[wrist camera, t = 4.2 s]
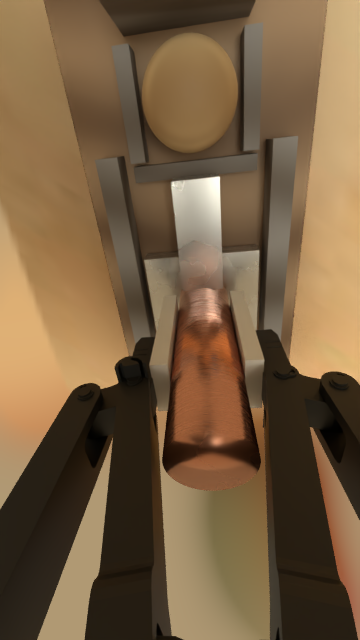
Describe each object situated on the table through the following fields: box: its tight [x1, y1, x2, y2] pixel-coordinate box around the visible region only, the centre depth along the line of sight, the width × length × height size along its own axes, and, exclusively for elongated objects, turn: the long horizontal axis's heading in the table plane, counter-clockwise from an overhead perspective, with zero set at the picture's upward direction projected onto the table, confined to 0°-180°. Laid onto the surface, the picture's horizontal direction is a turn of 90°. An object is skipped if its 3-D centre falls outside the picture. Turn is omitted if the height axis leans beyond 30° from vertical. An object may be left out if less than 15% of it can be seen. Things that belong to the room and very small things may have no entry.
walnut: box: [142, 32, 238, 153], centre depth 14 cm, size 4×4×4 cm
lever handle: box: [144, 173, 261, 490], centre depth 14 cm, size 10×7×13 cm
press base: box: [44, 0, 328, 360], centre depth 18 cm, size 24×13×6 cm, turn 6°
